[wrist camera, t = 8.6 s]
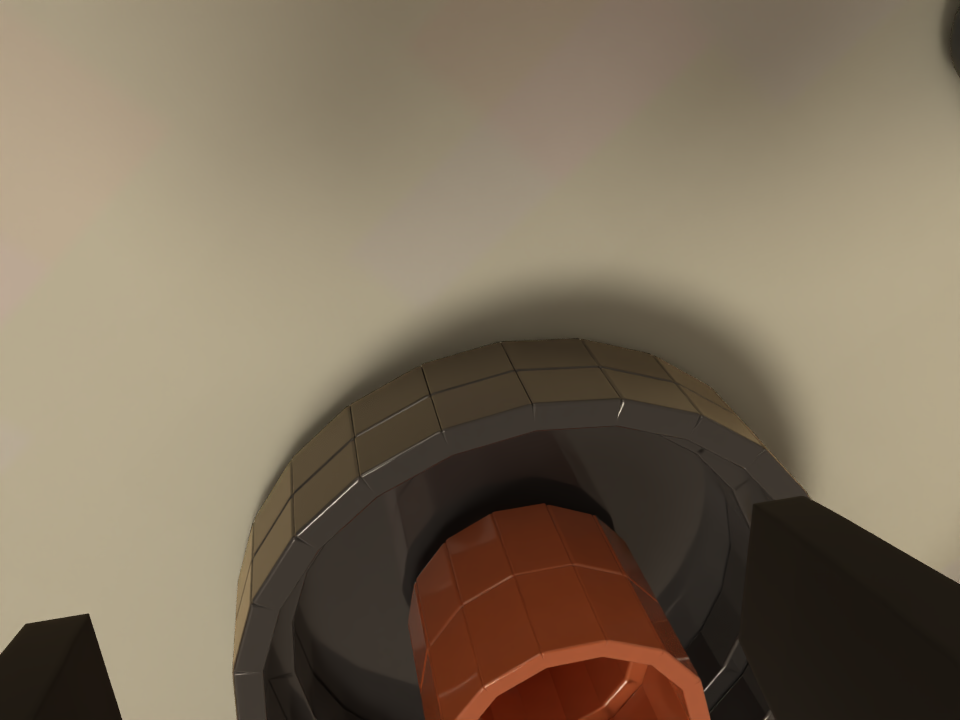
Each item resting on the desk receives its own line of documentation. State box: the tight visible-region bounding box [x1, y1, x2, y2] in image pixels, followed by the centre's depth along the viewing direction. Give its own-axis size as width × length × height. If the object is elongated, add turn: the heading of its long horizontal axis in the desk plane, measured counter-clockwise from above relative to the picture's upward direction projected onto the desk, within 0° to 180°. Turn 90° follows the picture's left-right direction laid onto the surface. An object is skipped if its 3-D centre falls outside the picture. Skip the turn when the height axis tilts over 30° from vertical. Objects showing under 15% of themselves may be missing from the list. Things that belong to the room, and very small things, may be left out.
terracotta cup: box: [408, 503, 711, 720], centre depth 19 cm, size 5×5×5 cm
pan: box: [232, 338, 810, 720], centre depth 21 cm, size 13×13×3 cm
